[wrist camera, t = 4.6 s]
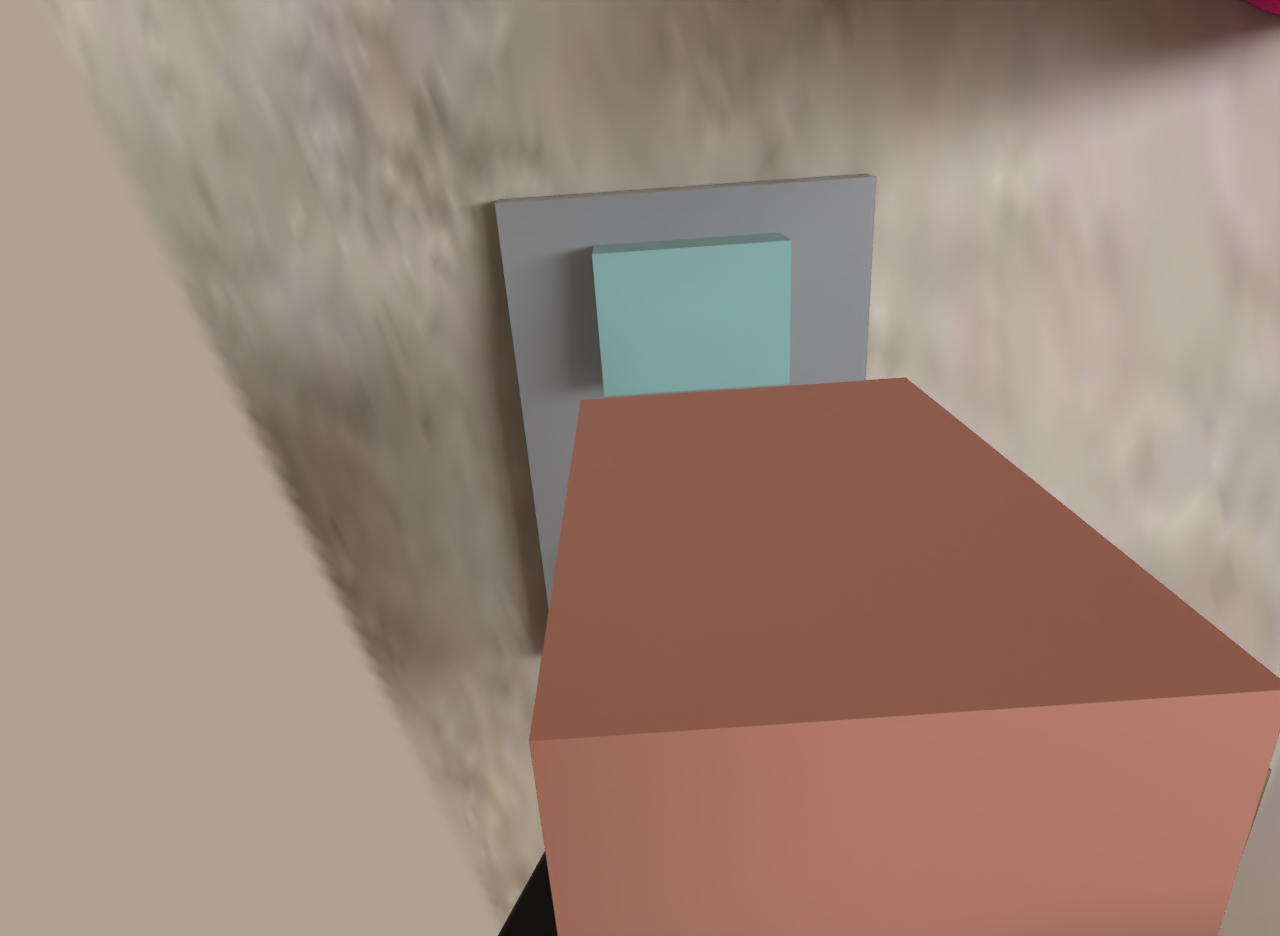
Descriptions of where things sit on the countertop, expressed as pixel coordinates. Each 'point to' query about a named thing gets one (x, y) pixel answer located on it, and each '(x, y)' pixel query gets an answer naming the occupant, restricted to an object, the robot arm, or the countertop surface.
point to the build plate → (678, 301)
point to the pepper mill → (1267, 5)
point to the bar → (872, 688)
